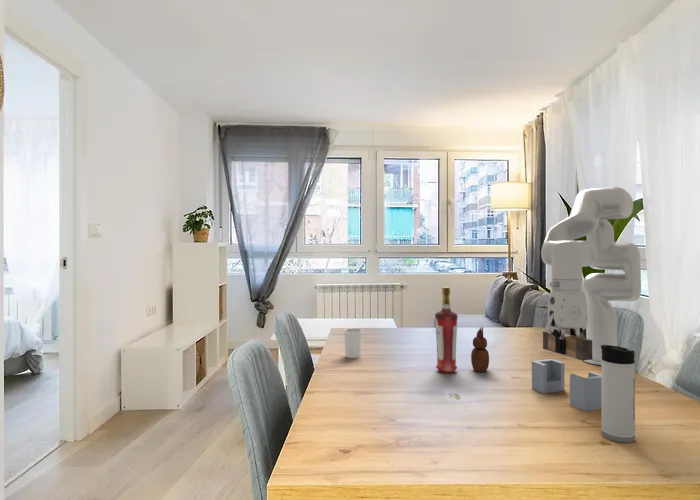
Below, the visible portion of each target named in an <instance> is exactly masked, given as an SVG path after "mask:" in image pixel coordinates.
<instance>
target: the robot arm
mask: <svg viewBox="0 0 700 500" xmlns="http://www.w3.org/2000/svg"><path fill="white" fill-rule="evenodd" d="M633 210H634V200H633V196H632V195H631V194H630V193H629V192H628V191H627V190H625V189H624V188H621V187H620V186H619V187H617V186H612V187H611V186H609V187H598V188H597V187H596V188H588V189H584V190H581V191H580V192H578V193H577V195H576V196H575V198H574V201H573V203H572V206H571V209H570V212H569V216H568V217H566V218H565V219H562V220H561V221H560V222H558V223H557V224H555V225H554V226H552V227H551V228H550V229H549V230H548V231H547V233H546V235H545V238H544V241H543V243H542V246H541V252H540V254H541V255H540V256H541V257H540V258H541V260H542V262H543V263H544V264H545V265H547V266H548V267H549V266H550V267H551V281H550V283H549V287H551V290H550V292H549V295H548V302H547V313H546V314H547V315H546V316H547V322H546V325H545V327H544V328H545V330H546V331H549V332H551V334H552V335H553V337H554V338H555V351H556V354H559V353H560V354H559V355H562V354H566V340H565V339H564V335H565V334H566V330H567V329H568V335H572V336H576V337H580V338H581V334H582V333H583V331H584V330H586V331H585V332H586V334H585V335H586V338H585V339H589V340H592V360H582V361H583V362H584V363H588V364H592V365H596V366H597V365H598V366H601V363H602V361H601V359H602V349H601V345H611V346H618V316H617V315H618V314H617V311H616V309H615V308H614V306H613V305H612V304H611V303H610V301H611V302H612V301H614V302H615V301H616V302H629V303H630V302H637V301H638V300H639V299H640V298H641V293H642V275H641V273H642V269H641V253H640V249H639V247H638V246H637V244H635V243H633V242H616V241H615V229H614V227H613V225H612V224H611V223H610V220H619V219H628V218H629V217H630V216H632V213H633V212H634V211H633ZM583 237H586V240H577V239H580V238H583ZM584 267H586V268H587V267H590V268H591V269H595V270H605V271H606V270H607V271H608V270H609V271H610V270H611V271H622V272H624V273H612V272H611V273H610V272H593V273H590V274H588V275H586V276H585V277H584V279H583V268H584Z"/></svg>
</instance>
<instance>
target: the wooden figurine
mask: <svg viewBox="0 0 700 500" xmlns="http://www.w3.org/2000/svg"><path fill="white" fill-rule="evenodd" d="M483 327H484V326H482V327H481V326H480V327H479V329H478V331H476V336H474V337H473V338H472V346H473V348H472V349H471V352H470V359H471V362H470V363H471V366H472V369H473V370H474V371H475V372H478V373H479V372H480V373H483V372H486V371H488V369H489V365H490V354H489V351H488V349H487V346H488V341H487V338H486V337H484V328H483Z"/></svg>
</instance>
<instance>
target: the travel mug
mask: <svg viewBox="0 0 700 500" xmlns="http://www.w3.org/2000/svg"><path fill="white" fill-rule="evenodd" d="M601 349H602V359H601V361H602V363H601V365H600V366H601V367H600V368H601V371H600V372H601V374H600V375H601V385H602V409H601V435H602V436H603V437H604V438H606V439H607V440H610V441H613V442H617V443H622V444H626V443H627V444H628V443H632V442H635V440H636V366H635V365H636V361H635V353H636V352H635V350H630V349H628V348H627V347H626V348H625V347H623V346H618V345H617V346H611V345H601Z"/></svg>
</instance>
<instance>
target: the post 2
mask: <svg viewBox="0 0 700 500" xmlns="http://www.w3.org/2000/svg"><path fill="white" fill-rule="evenodd" d="M587 375H588V376H587V377H582V376H580V375H577V374H574V373H573V374H572V373H571V374H570V373H569V406H572V407H574V408H576V409H578V410H581V411H584V412H587V411H596V410H602V385H601V374H600V373H597V372H594V371H588V374H587Z"/></svg>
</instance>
